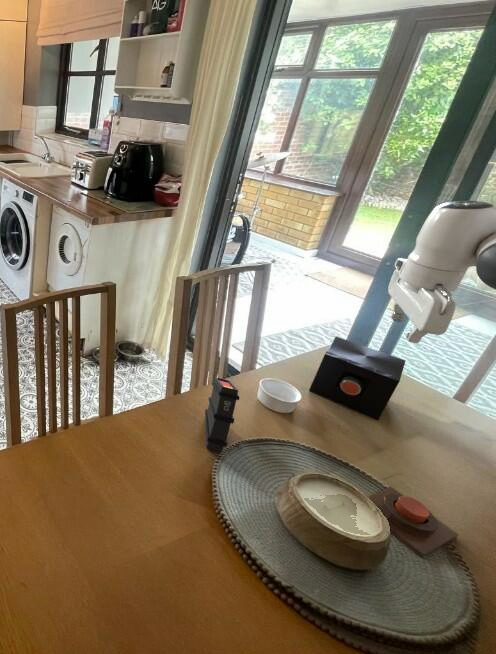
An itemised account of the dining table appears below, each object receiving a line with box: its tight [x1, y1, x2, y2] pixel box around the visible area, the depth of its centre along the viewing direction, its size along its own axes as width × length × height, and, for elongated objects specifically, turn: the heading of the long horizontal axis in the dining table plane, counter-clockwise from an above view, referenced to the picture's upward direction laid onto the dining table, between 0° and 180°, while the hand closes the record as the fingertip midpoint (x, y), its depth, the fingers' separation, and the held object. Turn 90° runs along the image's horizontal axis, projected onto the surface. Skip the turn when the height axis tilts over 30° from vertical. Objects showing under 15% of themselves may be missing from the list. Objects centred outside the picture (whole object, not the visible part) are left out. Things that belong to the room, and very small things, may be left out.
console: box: [308, 336, 407, 421], centre depth 105 cm, size 12×14×12 cm
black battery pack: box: [204, 376, 240, 454], centre depth 93 cm, size 4×13×15 cm, turn 155°
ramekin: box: [257, 377, 303, 414], centre depth 103 cm, size 9×9×4 cm
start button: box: [395, 495, 430, 523], centre depth 73 cm, size 4×4×2 cm
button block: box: [367, 486, 459, 559], centre depth 74 cm, size 10×10×4 cm
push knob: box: [340, 376, 363, 395], centre depth 100 cm, size 3×4×4 cm
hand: (403, 330), depth 93 cm, fingers open, 8 cm apart
